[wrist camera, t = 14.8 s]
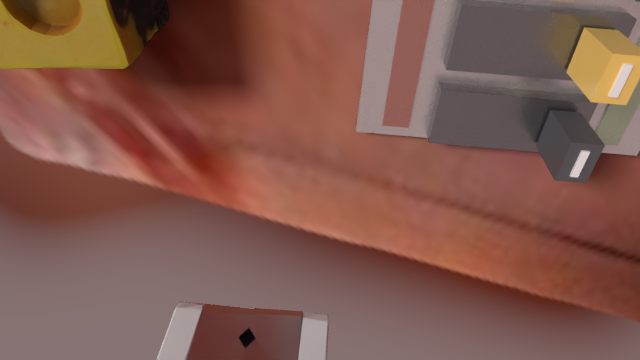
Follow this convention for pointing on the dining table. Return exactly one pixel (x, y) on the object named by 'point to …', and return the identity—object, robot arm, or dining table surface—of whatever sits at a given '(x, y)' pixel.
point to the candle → (77, 32)
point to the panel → (488, 71)
